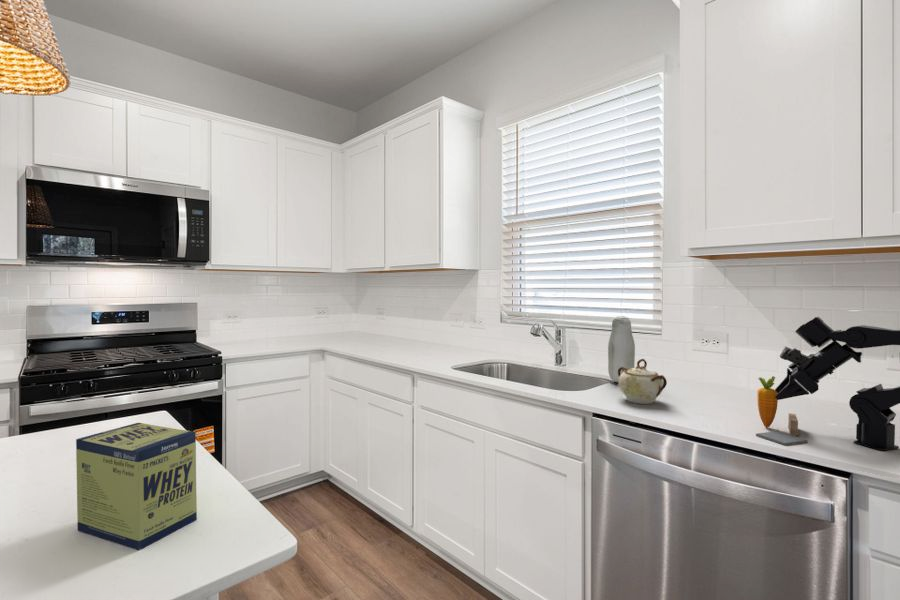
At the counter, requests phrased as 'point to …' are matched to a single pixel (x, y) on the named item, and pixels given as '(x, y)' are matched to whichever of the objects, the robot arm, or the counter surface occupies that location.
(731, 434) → the counter surface
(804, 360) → the robot arm
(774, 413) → the carrot
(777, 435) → the charcoal mat
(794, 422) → the walnut block
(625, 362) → the grey bottle
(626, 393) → the sugar bowl
